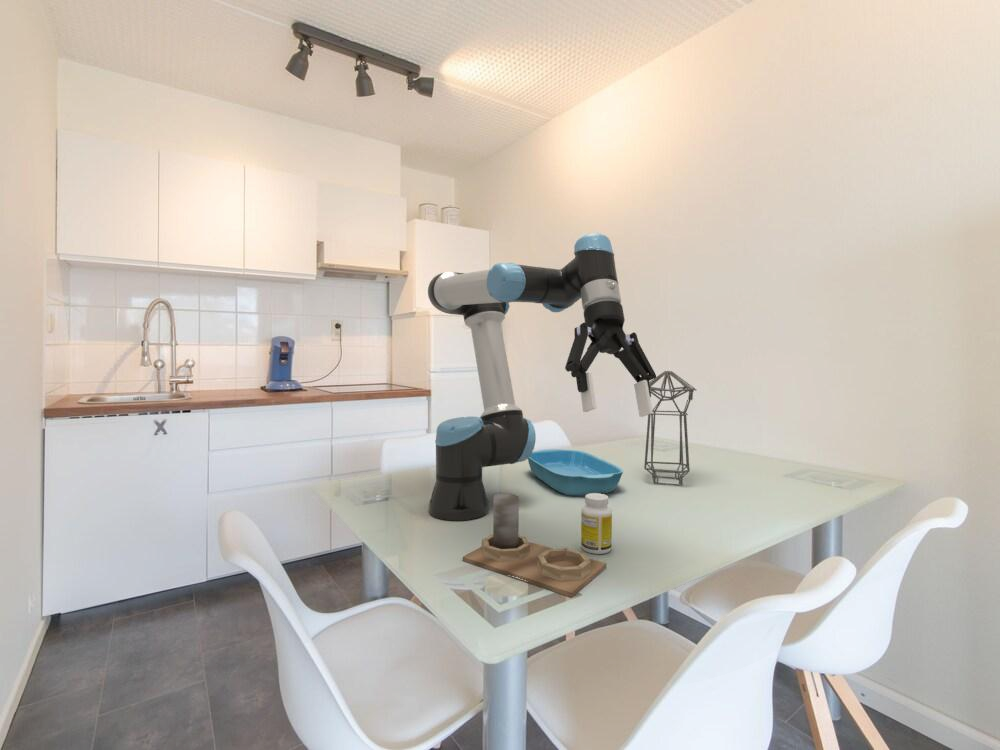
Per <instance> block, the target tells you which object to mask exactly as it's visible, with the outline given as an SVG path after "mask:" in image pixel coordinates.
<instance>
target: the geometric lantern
mask: <svg viewBox="0 0 1000 750" xmlns="http://www.w3.org/2000/svg"><path fill="white" fill-rule="evenodd" d="M662 377H663V380H662V383H661V386H660V387H654V386H653V385H655V384H656V383H657V382H658V381H659V380H660V379H662ZM671 377H672V378H674V380H676V381H677V382H679V383H680V384H681V385H682V386H678V387H677V386H676V387H675V386H674V384H673V380H672V378H671ZM667 383H668V388H666V386H667ZM649 386H650V392H651V395H653V396H654V397H655V398H657V399H658V402H657V404H656V405H655V406H654V408H652V411H653V413H652V414H649V415H647V426H646V441H645V453H644V465H643V467H644V470H645V471H647V472H648V473H649V474H650V475H651V477H652V481H653V484H655V483H657V484H656V485H666V484H669V485H670V486H680V485H681V486H682V484H683V478H684V477H685V476H686V475H688V474H689V473H690V471H691V469H690V457H689V440H688V437H689V435H688V422H687V420H688V419H687V416H689V415H688V413H687V411H688V409H689V406H690V403H691V401H693V399H694V398H693V397H694V396H693V395H694V391H697V388H696V387H694V386H693V385H691V384H689V383H688V382H687V381H686V380H684V379H683V378H682V377H681V376H679V375H677V373H675V372H674V371H672V370H671V371H670V370H664V371H663V372H661V373H660V374H658V375H656V378H654V379H652V380H650V381H649ZM666 392H669V393H670V396H666ZM686 393H688V396H687V398H688V399H686V403H685V406H684V410H682V411H681V409H680V408H679V406H678V404H677V403H676V401H675V399H676V398H678V397H681V396H682V395H685V394H686ZM664 401H667V402H668V401H672V403H674V406H675V408H676V409H677V411H676V410H658V409H659V407H660V405H661V403H662V402H664ZM675 413H676V414H675ZM678 413H679V414H678ZM658 415H659V416H676V417H677V416H678V417H679V461H678V462H672V461H671V462H666V461H665V462H664V461H653V460H654V444H655V429H656V428H655V426H656V425H655V424H656V416H658ZM682 426H684V427H682ZM683 428H684V429H683ZM683 430H684V445H685V447H683ZM650 433H651V434H650ZM649 439H650V442H649ZM649 443H650V461H648V457H649V456H648V455H649ZM684 448H685V461H686V463H684V450H683V449H684ZM654 464H660V465H661V464H662V465H663V464H664V465H678V466H677V470H672V469H662V468H661V469H660V468H655V466H654ZM647 466H648V467H647ZM680 468H681V470H679V469H680ZM686 469H687V470H686ZM657 473H662V474H663V473H665V474H666V473H668V474H669V473H671V474H674V476H664V475H663V476H662V475H657ZM658 477H662V478H661V479H663V478H664V479H674V478H676V479H675V480H678V483H669V482H668V483H667V482H665V483H664V482H659V478H658ZM669 485H668V486H669Z"/></svg>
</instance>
